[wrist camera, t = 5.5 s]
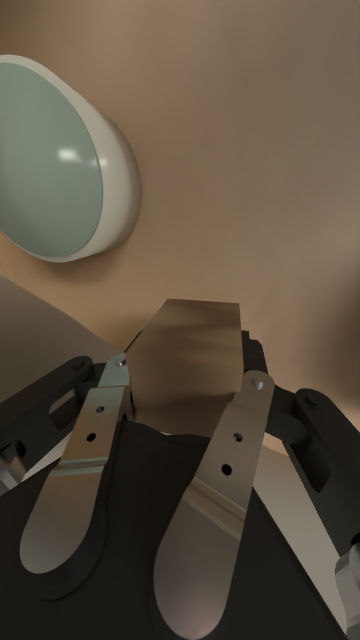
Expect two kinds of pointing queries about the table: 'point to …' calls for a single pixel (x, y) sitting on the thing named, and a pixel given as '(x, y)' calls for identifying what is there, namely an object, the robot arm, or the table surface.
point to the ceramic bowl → (61, 168)
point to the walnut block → (187, 366)
